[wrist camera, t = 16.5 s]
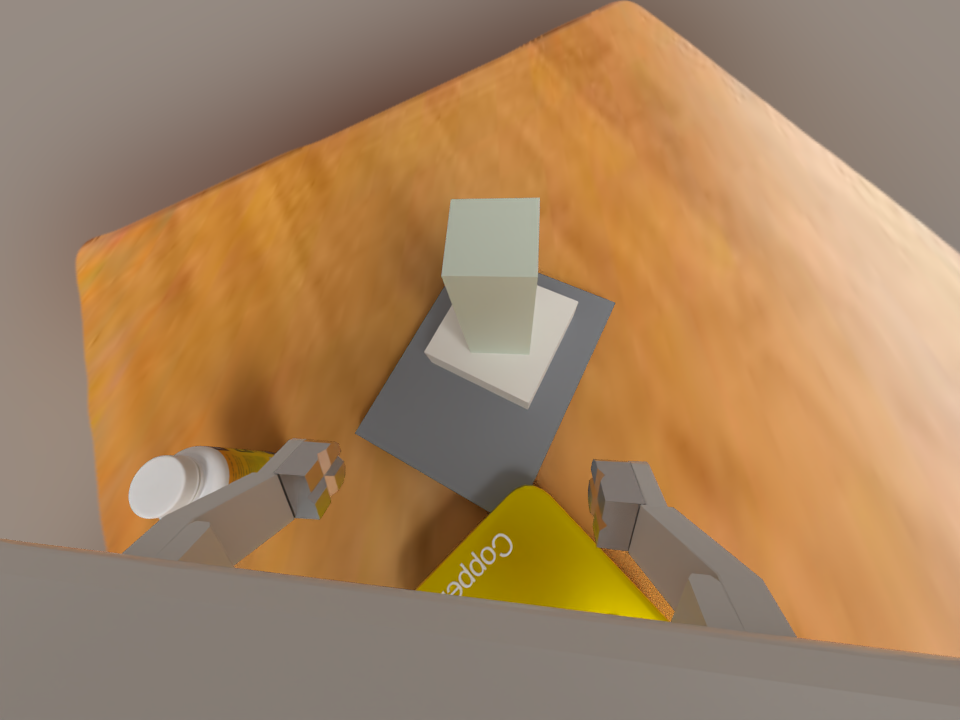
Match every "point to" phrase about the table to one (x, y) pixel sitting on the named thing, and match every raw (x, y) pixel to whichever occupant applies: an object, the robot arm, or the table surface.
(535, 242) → the sage block
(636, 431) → the table surface
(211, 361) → the table surface
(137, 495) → the supplement bottle
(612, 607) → the element tile
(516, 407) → the slate board
